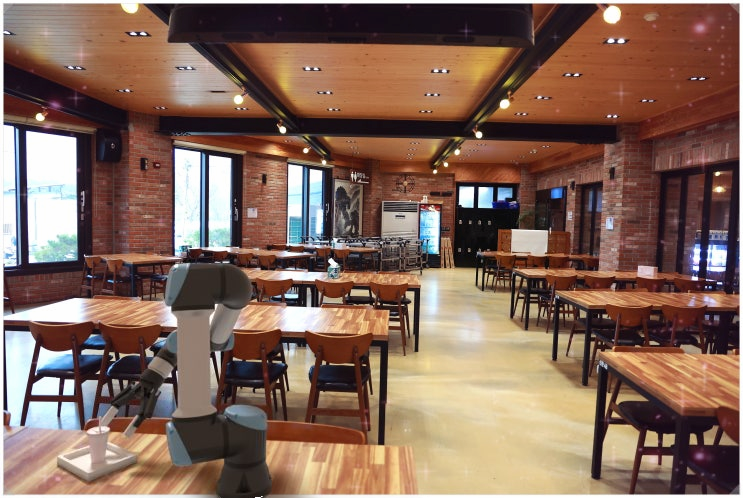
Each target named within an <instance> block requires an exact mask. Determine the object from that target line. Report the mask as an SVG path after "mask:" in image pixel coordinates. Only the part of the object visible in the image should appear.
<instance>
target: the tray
mask: <svg viewBox="0 0 743 498" xmlns="http://www.w3.org/2000/svg"><path fill="white" fill-rule="evenodd" d="M137 460H138V455H137V454H136V453H134V452H132V451H129V450H127V449H125V448H123V447H121V446H119V445H116V444H115V443H112V442H110V441H107V448H106V455H105V460H104V461H103V462H101V463H92V462H91V456H90V448H89V445H87V446H84V447H81V448H78V449H75V450H72V451H69V452H66V453H63V454H60V455H57V457H56V465H58V466H60V467H62V468H64V469H65V470H67V471H69V472H70V473H72V474H74V475H76V476H78V477H80V478H82V479H83V480H85V481H87V482H91V481H93V480H95V479H98V478H101V477H103V476H106V475H109V474H110V473H113V472H116V471H118V470H120V469H123V468H126V467H129V466H131V465H134V464H136V463H137V462H138V461H137Z"/></svg>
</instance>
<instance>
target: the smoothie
mask: <svg viewBox="0 0 743 498" xmlns="http://www.w3.org/2000/svg"><path fill="white" fill-rule="evenodd" d="M101 420H102V415H101V416H98V421H99V422H98V426H94V427H92V428H89V429H88V430H86V436H87V440H88V446H89V448H90V456H91V462H92V463H101V462H103V461H104V460H105V455H106V448H107V441H108V439H109V434H110V432H111V428H110V427H109V426H107V427H106V426H101ZM108 442H109V441H108Z"/></svg>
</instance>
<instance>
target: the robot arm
mask: <svg viewBox="0 0 743 498" xmlns="http://www.w3.org/2000/svg"><path fill="white" fill-rule="evenodd" d="M166 279H167V280H166V285H165V293H164V305H165V306H166V307H168V308H169V307H170V313H171V314H172V315H173V316H174V317H175V318H176V326H177V327H176V329H175V330H173V331H172V332H171V333H169V334H168V335H167V336H166V339H165V342H164V344H163V345H162V347H161V348H160V350H159V351H158V353H157V354H156V355H155V356H154V357H153V359H152V360H151V361H150V362H149V364H148V365H147V368H145V369H144V371H143V372H142V373H141V375H140V376H139V379H140V380H139V382H138V383H137V382H136V381H135V380H132V381H131V382H129V384H128V385H127V386H126V387H125V388H124V389H122V390H121V391H120V392H119V393H117V394H116V395H115V396H114V397H112V398H111V399H110V400H109V403H110V407H109V408H108V410H107V411H106V412H105V415H104V416H103V417H101V426H106V427H108V425H109V424H110V423H111V421H112V420H113V418H114V417H115V416H116V415H117V413H118V412H119V410H120V408H121V407H123V406H125V405H126V404H128V403H130V402H131V401H132V400H133V401H134V400H137V399H138V400H140V403H139V404H140V406H139V412H138V413H137V414H136V415H135V416H134V418H133V419H132V420H131V422H130V423H129V425H128V426H127V427H126V429H125V430H124V431H123V433H122V435H123V436H125V437H126V438H127V439H131V437H132V436H133V435H134V434H135V432H136V430H137V429H138V428H140V426H141V425H142V423H143V422H144V421H145V420H147V419H149V420H150V419H152V417H153V415H154V411H155V408H156V406H157V402H158V400H159V398H160V395H161V394H162V391H161V390H160V388H161V387H162V385H163V384H164V383H165V381H166V379H167V378H168V376H170V374H171V373H172V371H174V369H175V367H176V366H177V408H176V409H175V411H173V412H172V414H171V420H170V421H168V422H166V423H165V435H166V441H167V447H168V451H169V452H168V453H169V458H170V459H171V463H172V464H173V465H174V466H175V467H185V466H193V465H197V464H202V463H208V462H212V461H219V460H223V465H222V469H221V472H220V475H219V478H218V480H217V484H216V494H217V496H218V497H219V496H220V497H221V498H255V497H261V496H264V497H266V496H267V495H268V494H269V493H270V492H271V490H272V485H273V484H272V482H273V480H272V476H271V474H270V473H271V472H270V470H269V466H268V462H267V436H268V435H267V433H268V432H267V430H268V422H267V421H268V420H267V414H266V413H265V411H264V410H263V409H261V408H259V407H257V406H254V405H249V404H233V405H230V406H228V407H226V408H225V410H224V412H223V414H218V410H217V407H215V406H214V405H213V404H212V388H211V387H212V383H211V382H212V381H211V379H212V378H211V377H212V376H211V352H212V353H213V352H214V353H215V352H224V351H231V350H232V349H233V348H234V345H235V333H234V328H235V326H236V323H237V321H238V319H239V317H240V315H241V313H242V310H244V309H245V308H246V307H247V306H249V304H250V301H251V299H252V296H253V285H252V282H251V279H250V278H249V276H248V275H247V273H246V272H245V271H244V270H243V269H241V268H240V267H238V266H237V265H234V264H231V263H226V262H222V263H210V262H209V263H206V262H205V263H203V262H201V263H199V262H187V263H185V262H184V263H175V264H174V265H172V266H171V267H170V269H169V271H168V275H167V278H166ZM212 315H213V316H212ZM211 316H212V318H211ZM210 318H211V321H210ZM265 495H266V496H265ZM220 497H219V498H220Z"/></svg>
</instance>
